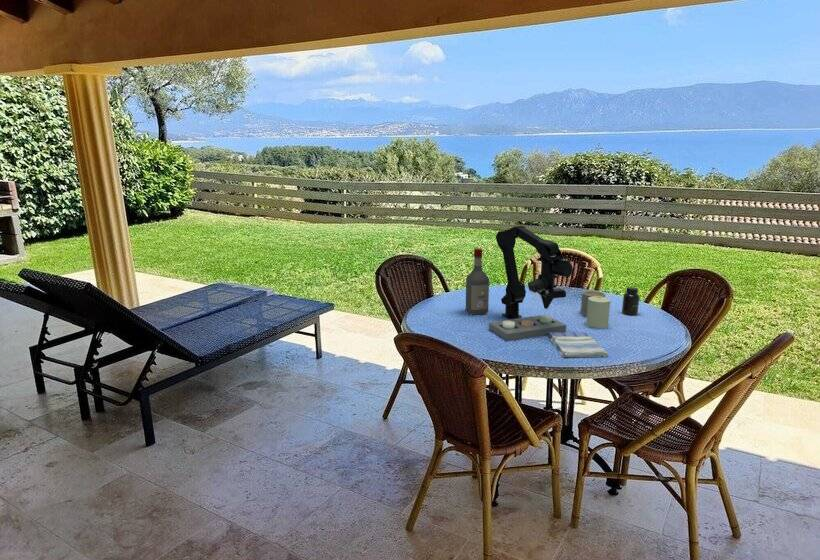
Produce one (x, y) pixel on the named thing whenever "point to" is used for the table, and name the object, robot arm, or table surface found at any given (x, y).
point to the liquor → (477, 287)
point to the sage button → (545, 319)
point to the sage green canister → (598, 312)
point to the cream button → (508, 325)
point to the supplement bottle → (630, 301)
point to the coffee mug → (585, 300)
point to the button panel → (526, 328)
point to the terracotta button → (527, 323)
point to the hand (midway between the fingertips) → (545, 308)
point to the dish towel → (576, 345)
